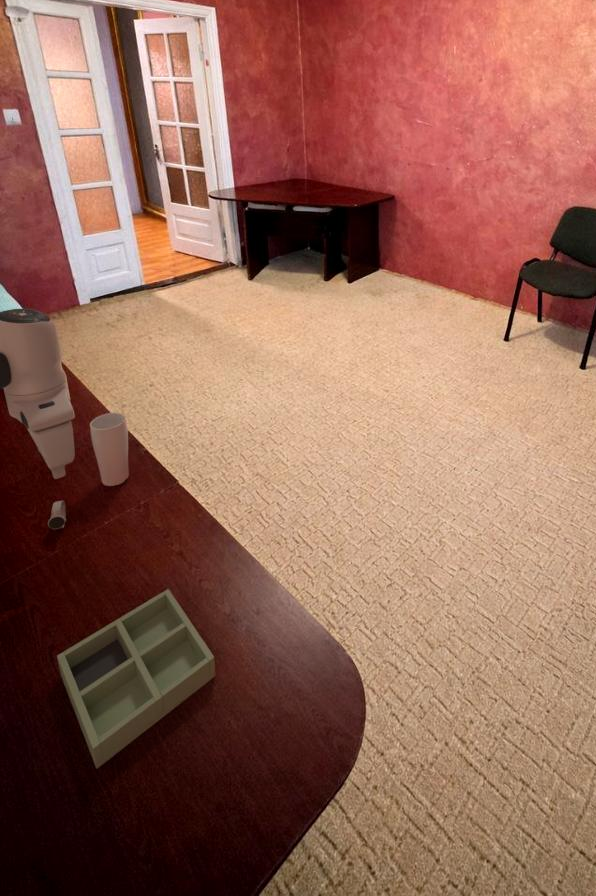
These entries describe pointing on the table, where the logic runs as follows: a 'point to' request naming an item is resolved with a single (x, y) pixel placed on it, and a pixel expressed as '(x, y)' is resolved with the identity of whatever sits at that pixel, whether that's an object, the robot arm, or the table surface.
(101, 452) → the drinking glass
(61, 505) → the wristwatch
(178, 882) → the table surface
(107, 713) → the tray
